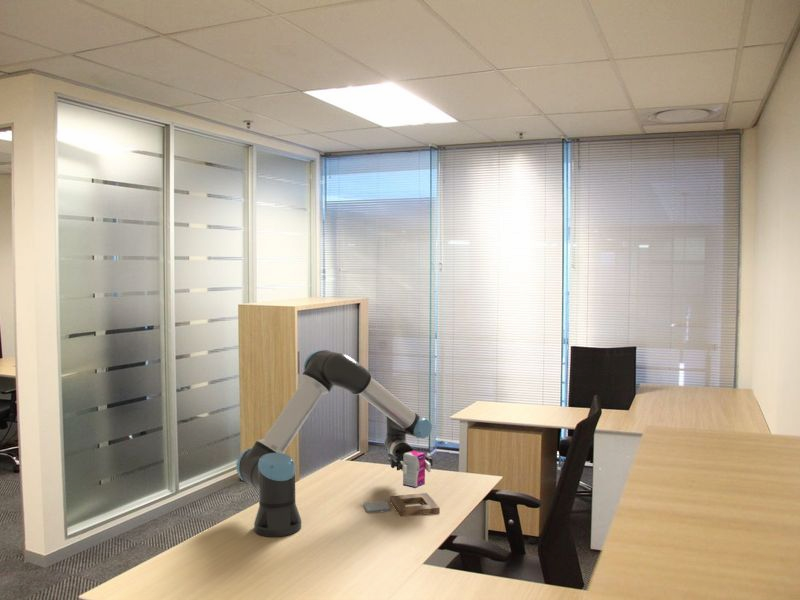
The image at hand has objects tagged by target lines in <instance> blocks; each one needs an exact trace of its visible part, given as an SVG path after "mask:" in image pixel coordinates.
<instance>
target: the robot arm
mask: <svg viewBox="0 0 800 600" xmlns="http://www.w3.org/2000/svg"><path fill="white" fill-rule="evenodd" d="M303 363H304V364H303V366H304V367H303V372H302V374H301V383H300V385H299V386H298V387H297V389H296V391H295V392H294V393H293V394H292V396H291V398H290V399H289V401H288V402H287V404H286V405H285V406H284V408H283V410H282V411H281V412H280V414H279V415H278V417H277V418H276V420H275V421H274V422H273V424H272V426H271V427H270V428H269V430H268V432H267V433H266V434H265V436H264V438H262V439H257V440H256V441H255V442H254V444H253V445H252V447H250V448H246V449H245V450H243V452H241V453H240V455H239V457H237V461H236V474H237V475H238V477H239V478H240V479H241V480H242V482H243V483H245V484H247V485H248V486H251V487H253V488H255V490H258V500H259V501H258V502H259V503H258V504H259V505H258V510H257V513H256V515H255V519H254V523H253V525H254V527H253V529H254V532H255V533H256V534H257V535H260V536H263V537H270V538H271V537H272V538H275V537H285V536H289V535H292V534H295V533H297V532H298V531H300V530H301V529H302V517H301V516H300V513H299V510H298V507H297V504H296V471H297V470H296V465H295V460H294V458H293V457H291V455H288V454H286V451H287V449H288V447H289V446H290V444H291V443H292V441H293V440H294V438H295V437H296V435H297V434H298V432H299V431H300V429H301V427H302V426H303V425H304V423H305V422H306V420H307V419H308V418H309V415H310V414H311V412H312V411H313V410H314V408H315V406H317V403H318V402H319V401H320V399H321V397H322V396H324V395H328V394H329V393H330V392H331V390H332V389H333V387H334V386H335V387H339V388H342V389H345V390H347V391H348V392H350V393H351V394H353V395H354V396H355V395H356V396H358V395H359V396H360V397H361V398H362V399H364V400H365V401H367V402H368V403H369V404H370V405H372V407H375V408H376V409H377V410H378V411H379V412H381V413H382V414H383V415H385V418H386V437H385V439H384V447H385V449H386V451H387V453H388V454H387V457H388V458H387V461H388V462H389V464H390V467H391V469H395V468H396V471H402V473H403V472H404V474H407V466H406V464H405V463H404V462H403V457H404V453H407V452H410V451H414V449H413V447H412V446H410V444H409V443H407V437H406V435H408V436H412V437H415V438H416V439H419V438H420V439H426V438H428V437H429V436H430V435H431V433H432V430H433V426H432V425H433V424H432V421H430V420H429V419H428V418H426V417H423V416H420V415H419V414H417V413H416V412H415V411H414V410H413V409H411V408H410V407H409V406H407V405H406V404H405V403H404V402H402V401H401V400H400V399H399V398H398V397H396V396H395V395H394V394H392V392H390V391H389V390H388V389H386V387H384V386H383V385H381V384H380V383H379V382H378V381H377V380H375V378H374V377H372V376H373V375H372V373H371V372H370V371H369V370H368V369H366V367H365V366H363V365H362V364H360V363H359V362H358V361H357V360H355V359H354V358H353V357H351V356H349V355H348V354H346V353H342V352H335V351H331V350H329V349H322V350H321V349H320V350H315V351H313V352H312V353H310V354H309V355H307V357H306V358H305V360H304V362H303ZM421 452H422V453H425V452H424V451H421ZM432 466H433V458H432V457H431V456H429V455H428V454H426V453H425V471H426V472H428V473H431V472H432V471H431V468H432Z"/></svg>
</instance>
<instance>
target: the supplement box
mask: <svg viewBox="0 0 800 600" xmlns="http://www.w3.org/2000/svg"><path fill="white" fill-rule="evenodd" d="M422 452H423V451H417V450H413V451H410V452H407V453H404V457H403V462H404V463H405V464H406V466H407V474H404V472H403V471H402V474H403V475H402V486H404V487H408V488H412V489H417V488H419V487H421V486H424V485H425V484H426V469H425V454H426V453H425V452H424V453H422Z"/></svg>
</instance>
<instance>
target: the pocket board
mask: <svg viewBox="0 0 800 600" xmlns="http://www.w3.org/2000/svg"><path fill="white" fill-rule="evenodd" d="M389 502H390V504H391V503H392V504H391V505H392V507H393V506H394V507H393V508H394V509H396V510H395V511H396V513H397V512H398V513H397V514H398V515H400V516H401V517H408V516H410V515H411V516H419V515H420V514H422V515H428V514H427V513H432V514H440V506H439V505H438V504H437V503H436V502H435V501H434V499H433V498H432V497H431V496H430V495H429V493H428V492H422V493H412V494H402V495H401V494H399V495H389ZM416 502H417V503H422V505H421V504H419V505H409V506H406V504H415V503H416ZM405 503H406V504H405ZM417 503H416V504H417ZM400 516H399V517H400Z"/></svg>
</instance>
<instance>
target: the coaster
mask: <svg viewBox="0 0 800 600" xmlns="http://www.w3.org/2000/svg"><path fill="white" fill-rule="evenodd" d="M363 507H364V509H365V508H366V509H365V511H366V510H367V511H366V513H367V512H368V513H367V514H370V513H369V512H375V513H382V512H381V511H386V512H391V507H390V506H389V504H388V503H387V501H385V500H384V501H373V502H372V501H371V502H364V503H363Z"/></svg>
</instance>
